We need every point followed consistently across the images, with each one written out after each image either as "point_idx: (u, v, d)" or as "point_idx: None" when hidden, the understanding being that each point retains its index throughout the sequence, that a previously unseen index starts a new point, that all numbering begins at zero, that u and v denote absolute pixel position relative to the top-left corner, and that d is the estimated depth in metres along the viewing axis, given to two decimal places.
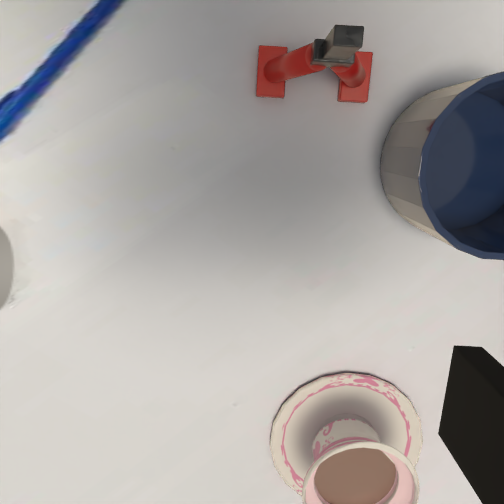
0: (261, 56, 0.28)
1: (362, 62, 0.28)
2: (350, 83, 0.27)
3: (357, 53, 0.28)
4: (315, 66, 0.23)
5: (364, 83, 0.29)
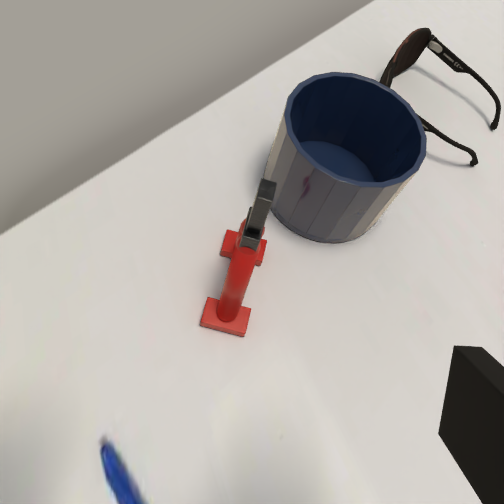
0: (210, 321, 0.29)
1: (233, 238, 0.32)
2: None
3: (225, 240, 0.32)
4: (258, 247, 0.25)
5: None
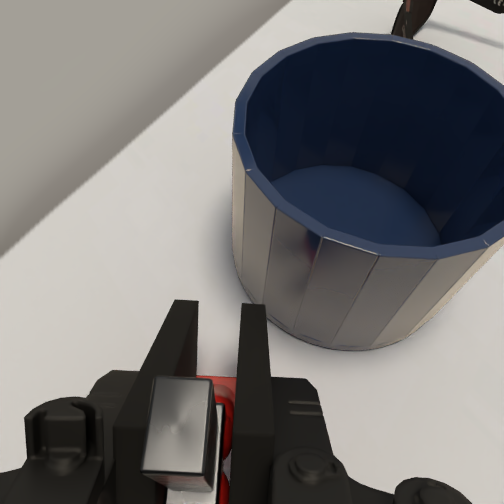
0: None
1: None
2: None
3: None
4: (222, 502, 0.09)
5: (229, 385, 0.17)
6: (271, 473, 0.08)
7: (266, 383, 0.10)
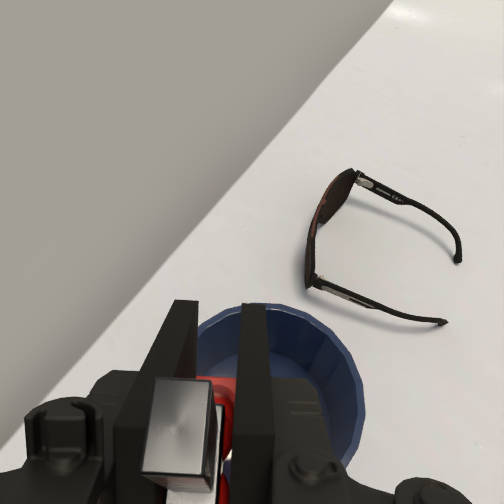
0: None
1: None
2: None
3: None
4: (222, 503, 0.09)
5: (229, 386, 0.17)
6: (271, 473, 0.08)
7: (266, 383, 0.10)
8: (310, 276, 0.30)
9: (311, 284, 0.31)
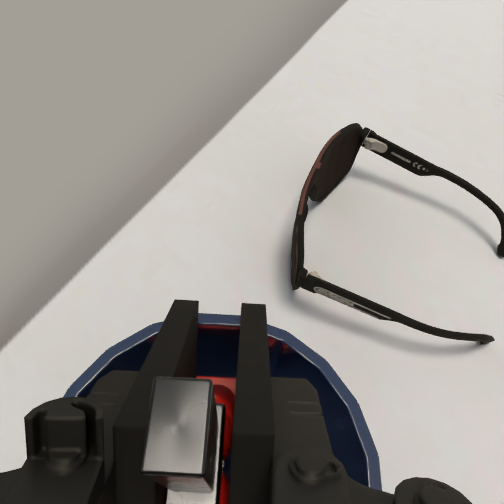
0: None
1: None
2: None
3: None
4: (222, 503, 0.09)
5: (229, 385, 0.17)
6: (271, 473, 0.08)
7: (266, 383, 0.10)
8: (297, 272, 0.21)
9: (299, 284, 0.21)
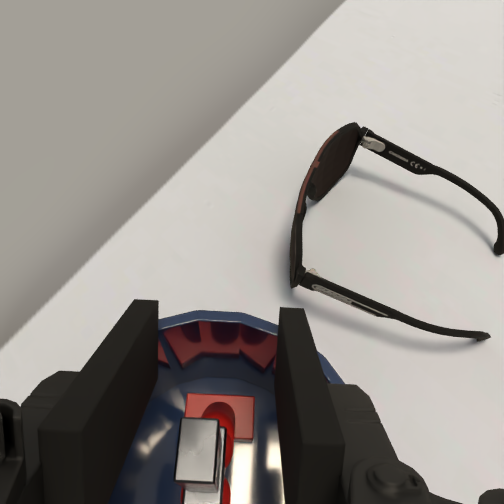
0: None
1: (200, 407, 0.20)
2: None
3: (187, 415, 0.19)
4: (224, 500, 0.12)
5: (229, 402, 0.20)
6: (342, 484, 0.08)
7: (324, 390, 0.09)
8: (295, 270, 0.21)
9: (297, 282, 0.21)
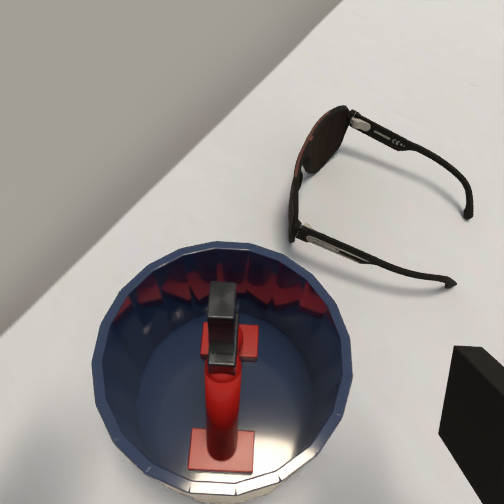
0: (201, 464, 0.21)
1: None
2: None
3: (204, 339, 0.24)
4: (237, 368, 0.17)
5: None
6: None
7: None
8: (293, 224, 0.25)
9: (294, 234, 0.26)
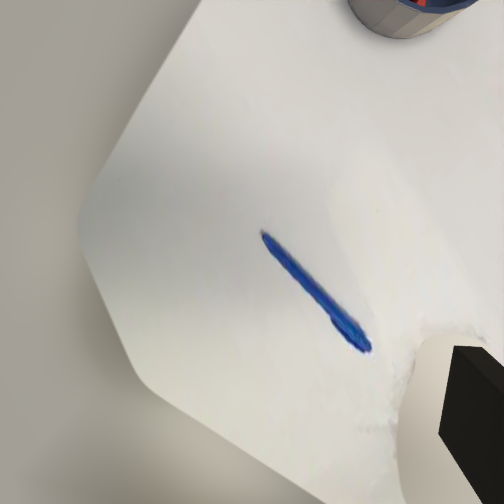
0: None
1: None
2: None
3: None
4: None
5: None
6: None
7: None
8: None
9: None
